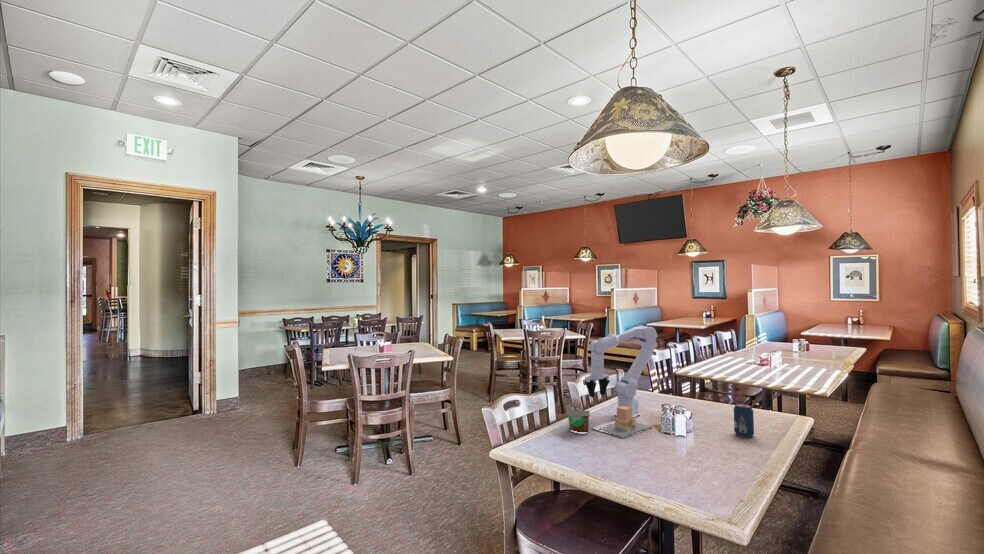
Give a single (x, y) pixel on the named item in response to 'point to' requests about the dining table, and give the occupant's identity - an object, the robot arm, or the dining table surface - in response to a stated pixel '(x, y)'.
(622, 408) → the terracotta block
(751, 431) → the soda can
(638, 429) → the slate board
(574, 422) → the food container
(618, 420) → the oak base block
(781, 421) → the dining table surface
